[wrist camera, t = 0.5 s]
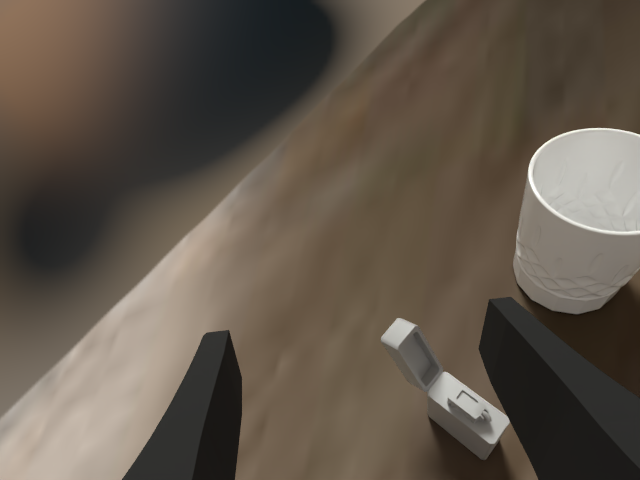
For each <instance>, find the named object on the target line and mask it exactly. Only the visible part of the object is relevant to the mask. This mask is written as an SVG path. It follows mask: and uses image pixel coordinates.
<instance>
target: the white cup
mask: <svg viewBox="0 0 640 480" xmlns="http://www.w3.org/2000/svg"><path fill="white" fill-rule="evenodd" d="M513 268H514V272H515V276H516V280H517V283H518V285H519V286H520V287H521V288H522V289H523V291H524V292H525V293H526V294H527V295H528V296H529V298H530V299H531V300H533V301H535V302H537V303H539V304H541V305H542V306H544V307H546V308H548V309H550V310H552V311H557V312H564V313H571V314H581V313H585V312H589V311H593V310H597V309H600V308H601V307H602V306H603V305H605V304H606V303H607V302H608V301H609V300H610V299H611V298H612V297H613V296H614V295H615V294H616V293H617V292H618V291H619V289H620V288H621V287H622V286H624V285H625V284H626V283H627V282H628V281H629V280H630V279H631V278H632V277H633V275H634V274H635V273H636V272H637V271H638V270H639V269H640V135H639V134H636V133H632V132H628V131H623V130H617V129H608V128H590V129H581V130H575V131H571V132H567V133H564V134H561V135H559V136H557V137H555V138H553V139H551V140H549V141H548V142H546V143H545V144H544V145H542V146H541V147H540V148H539V149H538V150H537V151H536V153H535V154H534V156H533V157H532V159H531V162H530V165H529V169H528V175H527V180H526V186H525V191H524V196H523V201H522V206H521V212H520V217H519V226H518V231H517V238H516V252H515V257H514V262H513Z"/></svg>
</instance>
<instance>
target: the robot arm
mask: <svg viewBox="0 0 640 480" xmlns="http://www.w3.org/2000/svg"><path fill="white" fill-rule="evenodd" d="M479 351H480V354H481V357H482V360H483V363H484V366H485V369H486V371H487V374H488V377H489V379H490V382H491V384H492V386H493V388H494V390H495V392H496V394H497V396H498V398H499V400H500V402H501V404H502V406H503V408H504V410H505V412H506V414H507V416H508V418H509V420H510V422H511V424H512V426H513V428H514V430H515V432H516V434H517V436H518V438H519V440H520V442H521V444H522V446H523V448H524V450H525V452H526V453H527V455H528V457H529V459H530V462H531V464H532V466H533V468H534V470H535V472H536V475H537V477H538V480H640V398H639V397H638V396H636V395H635V394H633V393H632V392H630V391H629V390H627V389H626V388H624V387H623V386H621V385H620V384H619V383H617V382H616V381H614V380H613V379H612V378H610V377H609V376H608V375H606V374H605V373H603V372H602V371H601V370H599V369H598V368H597V367H595V366H594V365H593V364H591V363H590V362H589V361H587V360H586V359H585V358H584V357H582V356H581V355H580V354H578V353H577V352H576V351H575V350H573V349H572V348H571V347H570V346H568V345H567V344H566V343H565V342H563V341H562V340H561V339H560V338H559V337H557V336H556V335H555V334H554V333H553V332H551V331H550V330H549V329H548V328H547V327H546V326H544V325H543V324H542V323H541V322H540V321H538V320H537V319H536V318H535V317H534V316H533V315H531V314H530V313H529V312H528V311H527V310H526V309H524V308H523V307H522V306H521V305H520V304H519V303H517V302H516V301H515V300H514V299H513V298H511V297H506V298H498V299H489V303H488V307H487V312H486V317H485V321H484V326H483V331H482V335H481V340H480V345H479ZM241 417H242V377H241V373H240V369H239V366H238V362H237V358H236V355H235V351H234V347H233V343H232V340H231V336H230V332H229V330H226V331H217V332H209V333H206V334H205V335H204V336H203V338H202V340H201V343H200V345H199V347H198V350H197V352H196V354H195V356H194V358H193V361H192V363H191V365H190V367H189V369H188V371H187V373H186V375H185V377H184V379H183V381H182V383H181V385H180V387H179V389H178V390H177V392H176V394H175V396H174V398H173V400H172V402H171V404H170V405H169V407H168V409H167V411H166V412H165V414H164V416H163V417H162V419H161V421H160V422H159V424H158V426H157V427H156V429H155V431H154V432H153V434H152V436H151V437H150V439H149V441H148V442H147V444H146V445H145V447H144V448H143V450H142V451H141V453H140V454H139V456H138V457H137V459H136V460H135V462H134V463H133V465H132V466H131V468H130V469H129V470H128V472H127V473H126V475H125V476H124V478H123V479H122V480H235V472H236V463H237V454H238V445H239V436H240V427H241Z"/></svg>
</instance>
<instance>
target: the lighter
mask: <svg viewBox="0 0 640 480" xmlns="http://www.w3.org/2000/svg"><path fill="white" fill-rule="evenodd" d="M381 342H382V344H383V345H384V347H385V348H386V350H387V351H388V353H389V354H390V355H391V357H392V358H393V360H394V361H395V363H396V364H397V366H398V367H399V369H400V370H401V372H402V373H403V375H404V376H405V378H406V379H407V381H408V382H409V383H411V384H413V385H414V386H416V387H418V388H419V389H421V390H423V391H424V392H426V391H427V396H428V416H429V417H430V418H431V419H432V420H434V421H435V422H436V423H437V424H438V425H440V426H441V427H442V428H443V429H445V430H446V431H447V432H448V433H450V434H451V435H452V436H453V437H454V438H456V439H457V440H458V441H459V442H461V443H462V444H463V445H464V446H465V447H467V448H468V449H469V450H470V451H472V452H473V453H474V454H475V455H476V456H478V457H479V458H480V459H481V460H486V459H487V458H488V456H489V455H490V453H491V452H492V450H493V449H494V447H495V446H496V445H497V443H498V442H499V440H500V438H501V436H502V435H503V433H504V431H505V429H506V427H507V426H508V424H509V418H508V417H507V416H506V415H504V414H503V413H502V412H500V411H499V410H498V409H496V408H495V407H494V406H492V405H491V404H490V403H488V402H487V401H485V400H484V399H483V398H481V397H480V396H479V395H477V394H476V393H475V392H473V391H472V390H470V389H469V388H468V387H466V386H465V385H464V384H462V383H461V382H460V381H458V380H457V379H456V378H454V377H453V376H451V375H450V374H449V373H447V372H443V367H442V366H441V364H440V362H439V360H438V359H437V357H436V355H435V354H434V352H433V350H432V348H431V347H430V345H429V343H428V342H427V340H426V338H425V337H424V335H423V333H422V331H421V330H420V328H419V326H417V325H415V324H413V323H411V322H408V321H406V320H404V319H402V318H397V320H396V321H395V322H394V323H393V324H392V325H391V326H390V328H389V329H388V330H387V331H386V332H385V333H384V335H383V336H382V337H381Z"/></svg>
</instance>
